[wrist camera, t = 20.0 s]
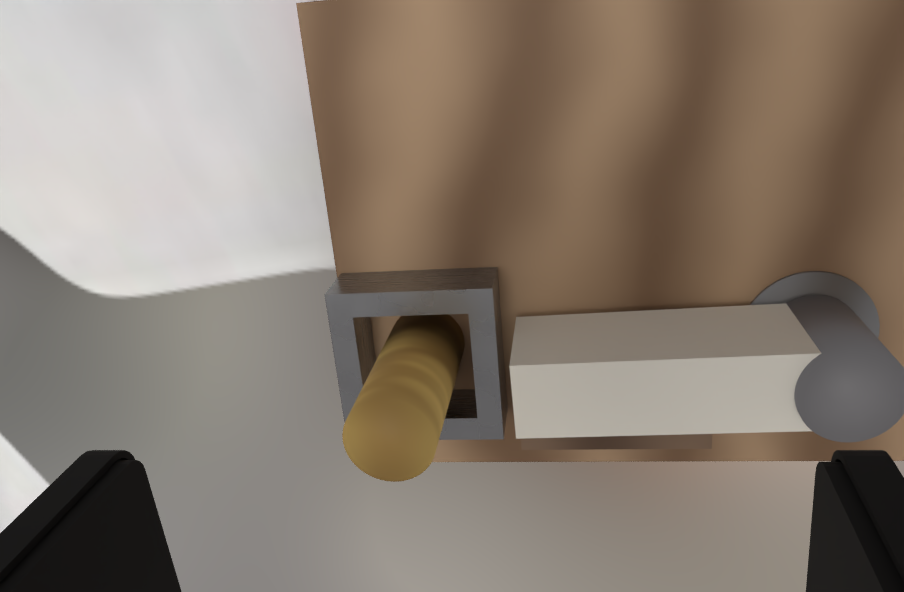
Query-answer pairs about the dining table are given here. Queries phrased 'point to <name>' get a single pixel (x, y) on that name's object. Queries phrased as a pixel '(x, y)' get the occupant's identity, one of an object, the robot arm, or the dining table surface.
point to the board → (620, 169)
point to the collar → (425, 295)
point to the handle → (705, 372)
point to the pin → (405, 398)
